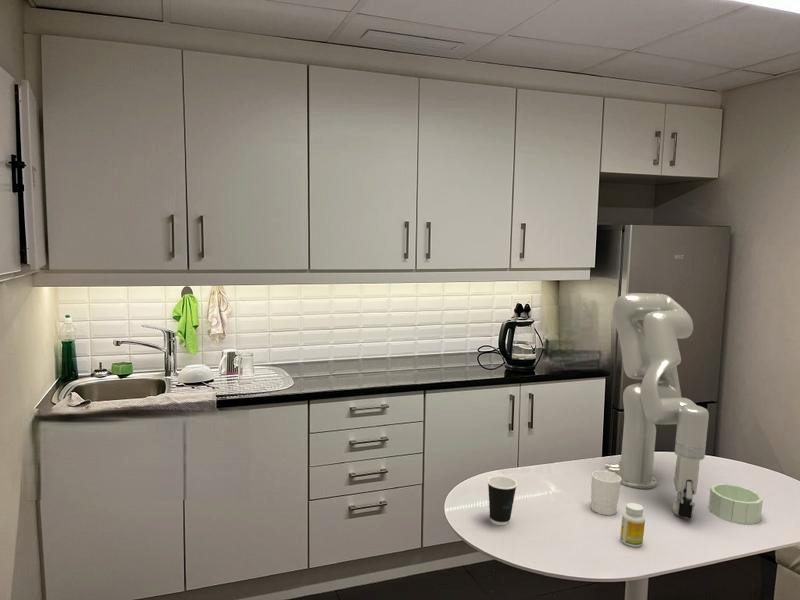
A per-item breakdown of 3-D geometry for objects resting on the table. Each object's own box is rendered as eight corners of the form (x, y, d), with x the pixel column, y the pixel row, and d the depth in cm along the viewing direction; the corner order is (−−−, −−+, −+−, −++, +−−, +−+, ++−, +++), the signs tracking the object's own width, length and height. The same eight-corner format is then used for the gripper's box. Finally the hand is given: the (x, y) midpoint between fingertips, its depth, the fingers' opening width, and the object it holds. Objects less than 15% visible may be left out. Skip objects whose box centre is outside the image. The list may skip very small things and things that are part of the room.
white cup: (619, 507, 171) (622, 474, 170) (617, 519, 164) (620, 484, 163) (590, 501, 174) (593, 468, 173) (587, 512, 167) (590, 478, 166)
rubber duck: (666, 511, 169) (669, 484, 168) (686, 510, 171) (688, 483, 170) (679, 521, 164) (682, 493, 163) (699, 519, 166) (702, 491, 165)
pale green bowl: (712, 518, 166) (714, 497, 166) (706, 500, 178) (708, 480, 178) (764, 527, 162) (766, 506, 162) (754, 508, 174) (756, 488, 173)
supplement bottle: (615, 539, 153) (618, 503, 152) (630, 535, 155) (634, 499, 154) (631, 549, 148) (635, 512, 147) (647, 545, 150) (650, 509, 149)
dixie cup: (512, 530, 155) (515, 490, 154) (482, 525, 157) (484, 485, 156) (516, 517, 162) (519, 478, 161) (487, 511, 165) (489, 473, 163)
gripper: (672, 438, 174) (666, 497, 177) (677, 458, 158) (671, 523, 161) (700, 442, 172) (694, 502, 174) (709, 463, 156) (702, 529, 158)
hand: (683, 511), depth 167 cm, fingers closed on rubber duck, 5 cm apart
